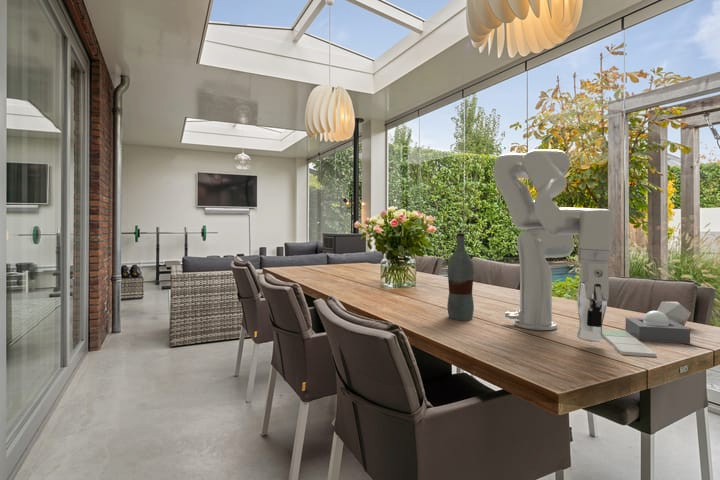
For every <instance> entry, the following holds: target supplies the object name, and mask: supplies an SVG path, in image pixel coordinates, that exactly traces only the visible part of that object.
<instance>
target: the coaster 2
mask: <svg viewBox="0 0 720 480" xmlns="http://www.w3.org/2000/svg"><path fill="white" fill-rule="evenodd" d="M603 339H604V340H605V341H606V342H607V343H609V344H610V346H612V347H613V343H618V344H632V345H645V344H644V343H642V341H640V340H638V339H637V338H635V337H634V336H633V337H619V336H604V337H603Z"/></svg>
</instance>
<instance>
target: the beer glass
mask: <svg viewBox="0 0 720 480" xmlns="http://www.w3.org/2000/svg"><path fill="white" fill-rule="evenodd" d="M576 299H577V300H576V303H577V312H578V319H579V320H578V321H579V324H578V325H579V326H578V329H577V334H576V337H577V338H578V339H579V340H581V341H586V342H591V343H601V342H603V341H604V337H603V334H602V329H603V322H604V318H605V315H606V311H607V307H608V300H607V301H604V299H603V296H602V299H603V302H602V323H601V327H593V326H588V325H587V314H588V311H589V300H588V299H587V298H586V293H585V284H583V283H581V281H578V286H577V295H576ZM591 299H595V293H593V294H592V295H591ZM593 303H594V302H593V301H592V305H593Z"/></svg>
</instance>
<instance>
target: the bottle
mask: <svg viewBox="0 0 720 480" xmlns="http://www.w3.org/2000/svg"><path fill="white" fill-rule="evenodd" d="M453 252H454V253H453V254H452V256H451V257H450V258H449V260H448V264H447V271H446V272H447V280H448V299H447V306H446V307H447V314H448V318H449V319H451V320H456V321H471V320H472V319H473V315H474V311H475V305H474V297H473V285H474V276H475V268H474V263H473V260H472V258H471V257H470V255H469V253H468V252H467V251H466V248H465V233H461V232H460V233H459V232H457V233H456V249H455V250H454V251H453Z"/></svg>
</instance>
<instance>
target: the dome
mask: <svg viewBox="0 0 720 480" xmlns="http://www.w3.org/2000/svg"><path fill="white" fill-rule="evenodd" d="M643 318H644V319H643V323H644V324H646V325H658V326H669V320H668V317H667V316H666V315H665V314H664V313H662V312H660V311H657V310H650V311H647V312H646V313H645V314H644V316H643Z"/></svg>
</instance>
